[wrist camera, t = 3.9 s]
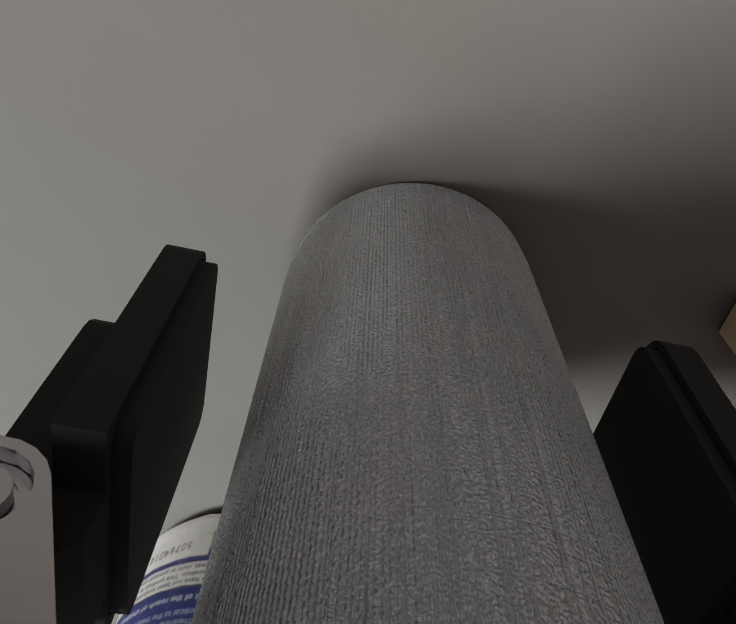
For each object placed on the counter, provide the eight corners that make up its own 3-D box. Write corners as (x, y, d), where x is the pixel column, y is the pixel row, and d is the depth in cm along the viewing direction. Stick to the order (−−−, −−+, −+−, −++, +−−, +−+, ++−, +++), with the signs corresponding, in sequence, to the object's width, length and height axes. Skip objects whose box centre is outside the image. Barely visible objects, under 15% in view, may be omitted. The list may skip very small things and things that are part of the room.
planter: (286, 381, 14) (108, 1204, 5) (288, 168, 12) (-35, 1024, 3) (505, 397, 14) (700, 1240, 5) (552, 189, 12) (1053, 1087, 3)
